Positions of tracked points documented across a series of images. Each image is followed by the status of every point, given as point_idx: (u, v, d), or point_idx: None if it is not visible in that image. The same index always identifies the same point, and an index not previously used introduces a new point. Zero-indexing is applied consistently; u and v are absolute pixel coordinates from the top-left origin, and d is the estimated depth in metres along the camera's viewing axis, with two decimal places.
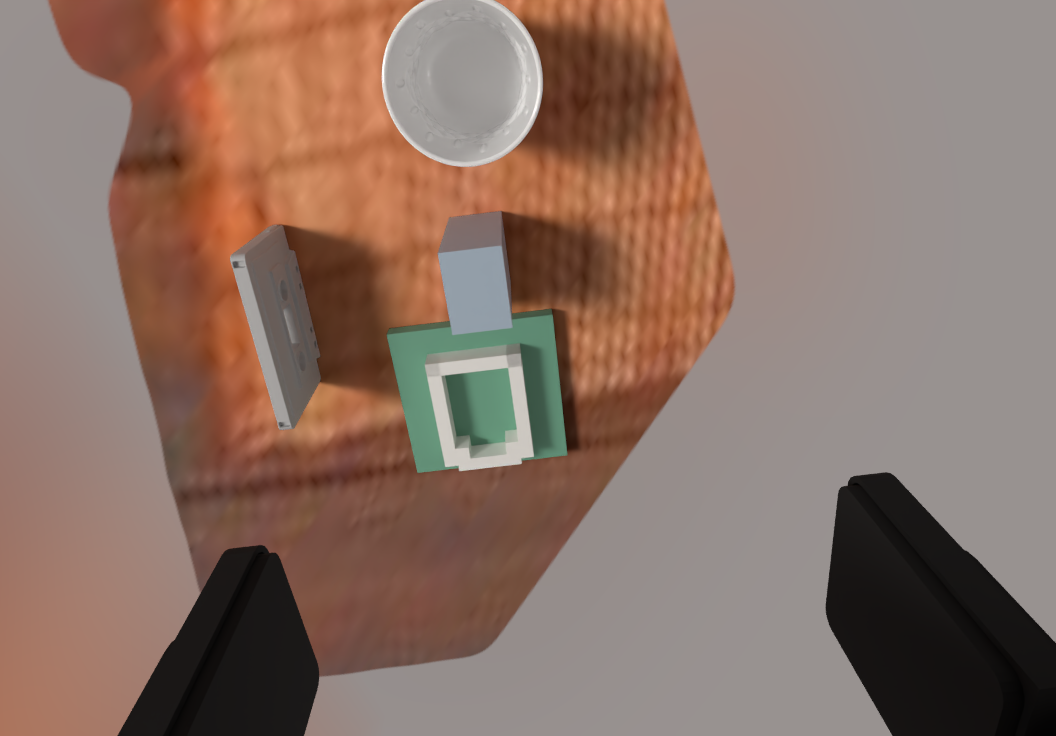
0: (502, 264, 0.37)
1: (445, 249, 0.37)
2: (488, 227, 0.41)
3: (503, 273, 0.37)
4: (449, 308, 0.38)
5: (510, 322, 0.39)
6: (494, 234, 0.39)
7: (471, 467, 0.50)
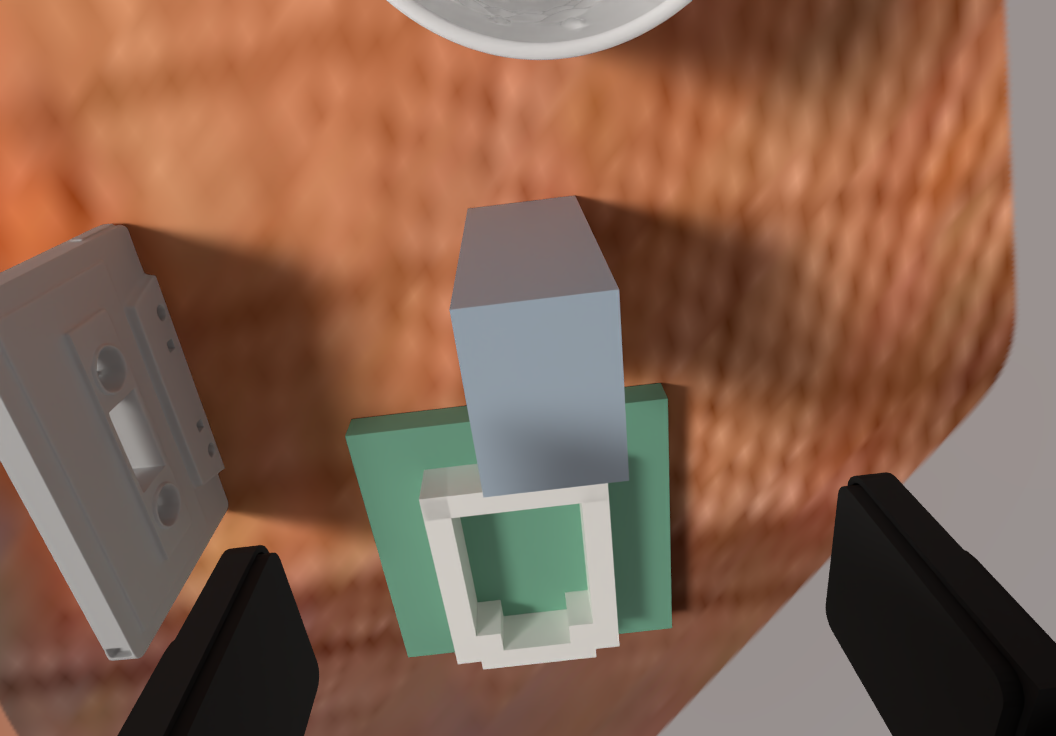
0: (617, 336, 0.14)
1: (468, 296, 0.14)
2: (561, 233, 0.18)
3: (618, 358, 0.15)
4: (477, 440, 0.15)
5: (625, 469, 0.16)
6: (584, 253, 0.16)
7: (504, 664, 0.28)
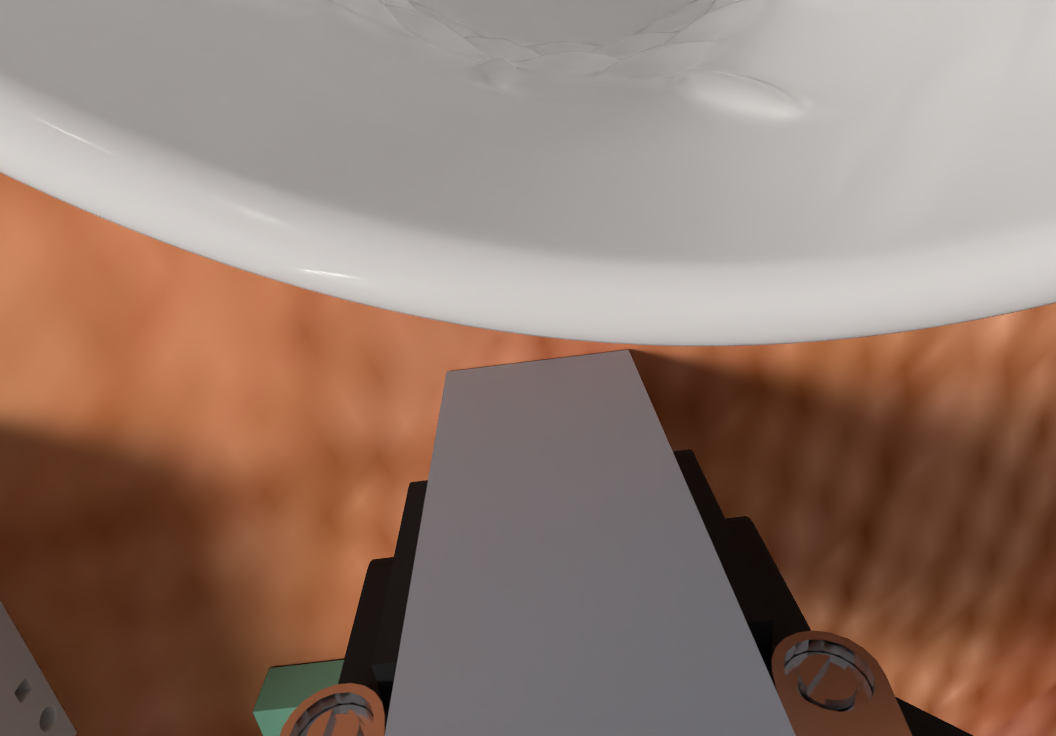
0: None
1: None
2: (623, 483, 0.09)
3: None
4: None
5: None
6: (690, 585, 0.07)
7: None
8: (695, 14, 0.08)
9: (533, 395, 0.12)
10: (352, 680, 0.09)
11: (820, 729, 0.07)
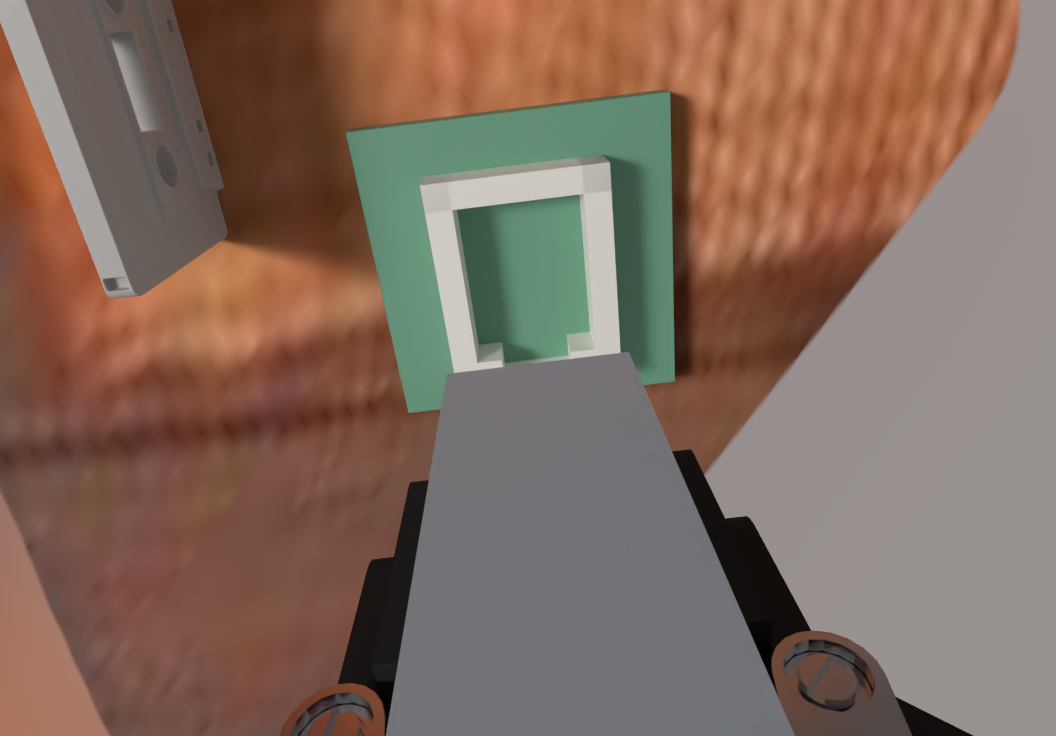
0: None
1: None
2: (624, 486, 0.09)
3: None
4: None
5: None
6: (691, 589, 0.07)
7: None
8: None
9: (533, 397, 0.12)
10: (352, 680, 0.09)
11: (820, 729, 0.07)
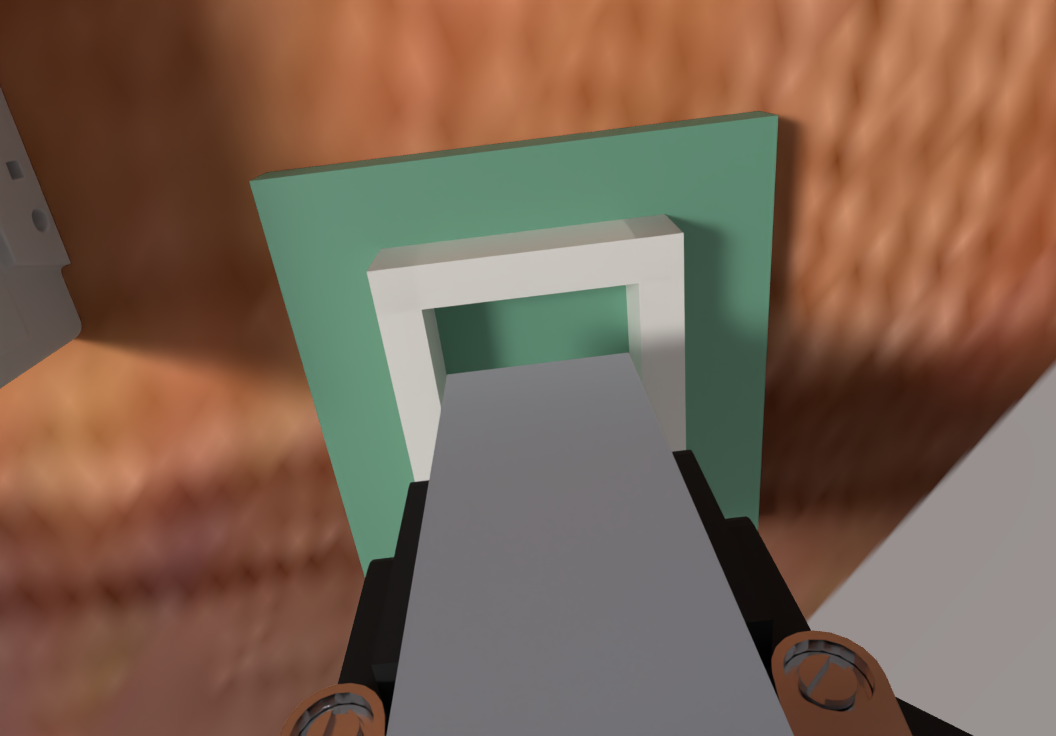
0: None
1: None
2: (624, 487, 0.09)
3: None
4: None
5: None
6: (691, 590, 0.07)
7: None
8: None
9: (533, 398, 0.12)
10: (352, 680, 0.09)
11: (820, 729, 0.07)
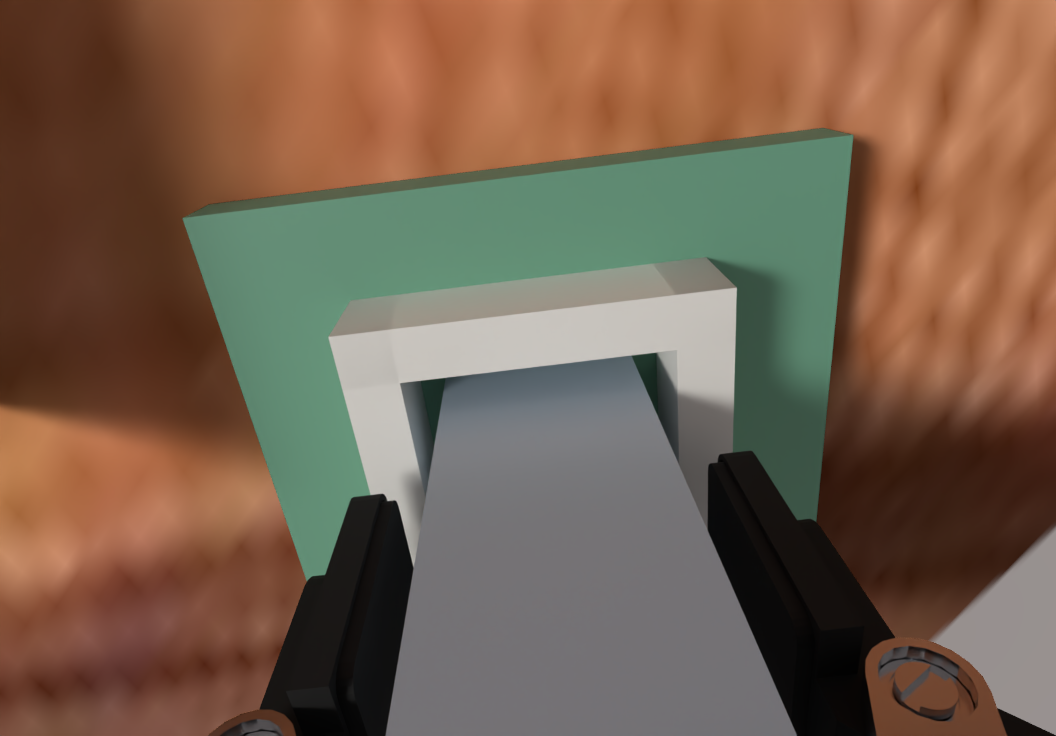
0: None
1: None
2: (621, 471, 0.09)
3: None
4: None
5: None
6: (684, 567, 0.07)
7: None
8: None
9: (533, 387, 0.12)
10: (274, 704, 0.08)
11: (911, 734, 0.07)
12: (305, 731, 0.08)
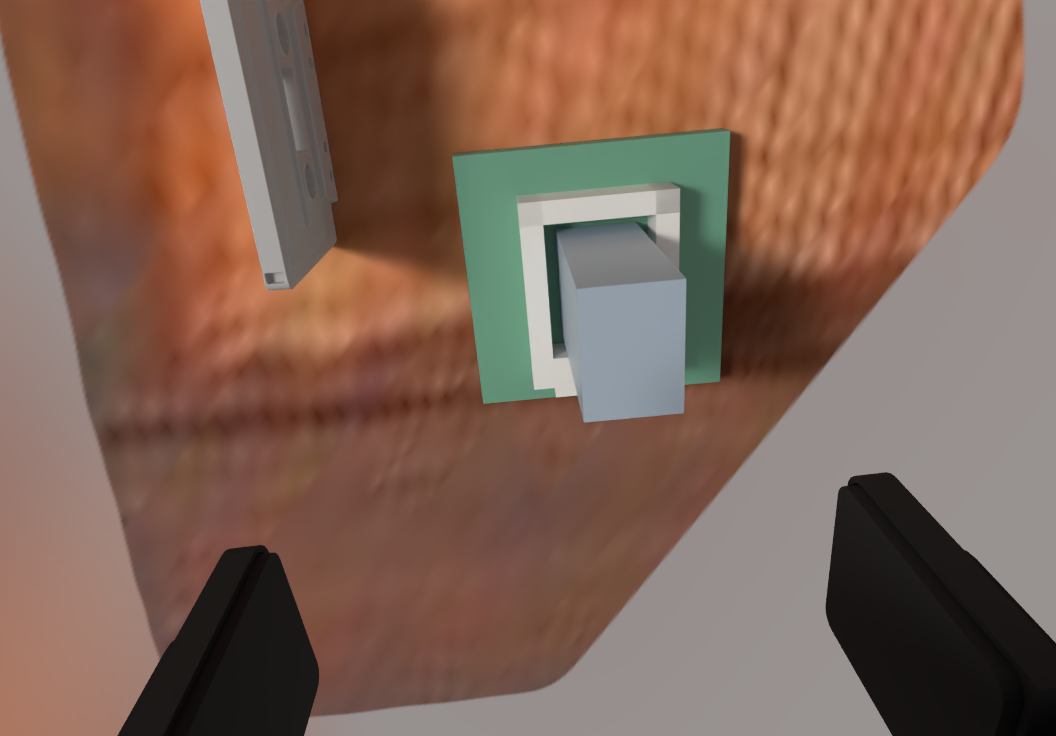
0: (683, 310, 0.22)
1: (586, 282, 0.22)
2: (634, 246, 0.26)
3: (682, 325, 0.22)
4: (584, 380, 0.23)
5: (681, 404, 0.23)
6: (655, 258, 0.24)
7: (575, 392, 0.31)
8: None
9: (595, 232, 0.28)
10: None
11: None
12: None
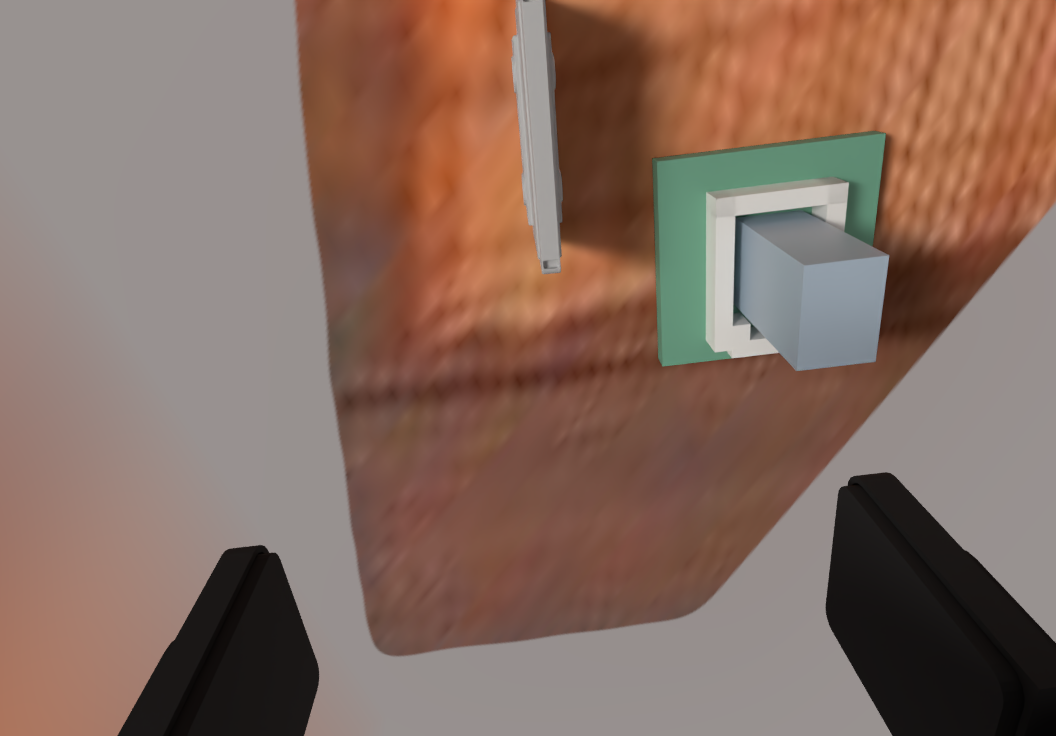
0: (884, 280, 0.28)
1: (807, 260, 0.28)
2: (820, 230, 0.32)
3: (882, 291, 0.28)
4: (801, 337, 0.29)
5: (874, 354, 0.30)
6: (848, 240, 0.30)
7: (748, 353, 0.38)
8: None
9: (775, 220, 0.35)
10: None
11: None
12: None
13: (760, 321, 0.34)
